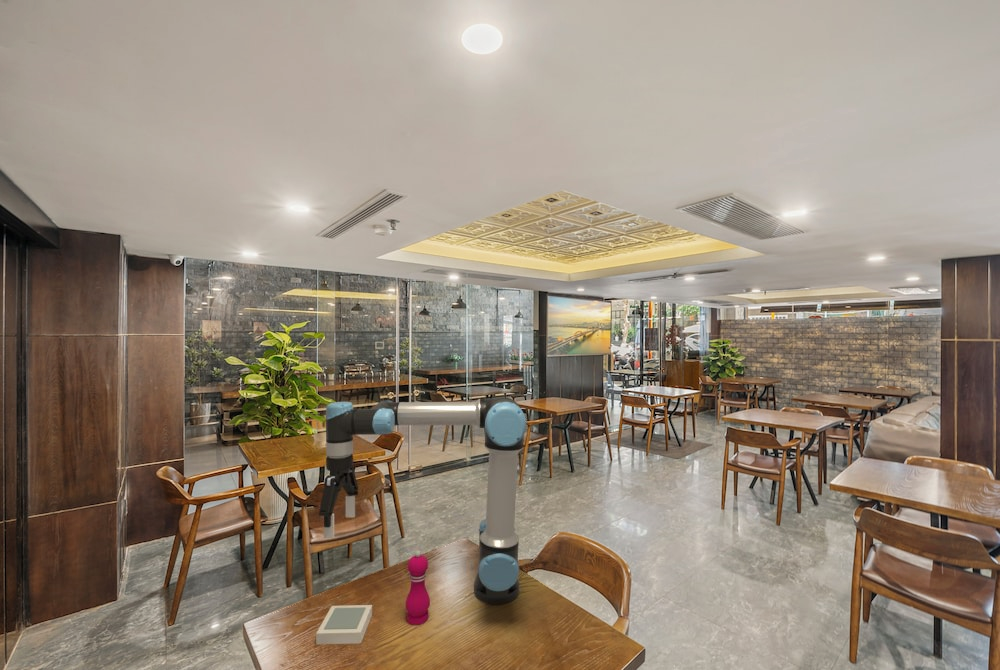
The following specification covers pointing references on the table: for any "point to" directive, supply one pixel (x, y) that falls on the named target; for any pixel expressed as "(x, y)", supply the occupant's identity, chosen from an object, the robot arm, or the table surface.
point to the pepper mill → (417, 590)
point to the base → (344, 625)
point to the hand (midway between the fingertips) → (340, 526)
